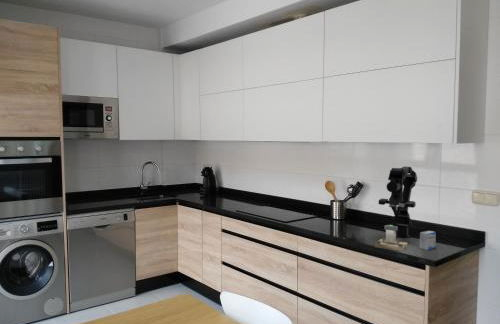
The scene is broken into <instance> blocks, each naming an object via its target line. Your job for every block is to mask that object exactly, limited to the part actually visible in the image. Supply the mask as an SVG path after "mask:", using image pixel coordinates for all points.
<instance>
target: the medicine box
mask: <svg viewBox="0 0 500 324" xmlns="http://www.w3.org/2000/svg"><path fill="white" fill-rule="evenodd" d="M436 233H437V232H436V231H433V230H427V231H426V230H425V231H421V232H419V249H422V250H425V251H430V250H433V249H436V239H437V238H436V235H437V234H436Z"/></svg>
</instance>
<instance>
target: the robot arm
mask: <svg viewBox="0 0 500 324" xmlns="http://www.w3.org/2000/svg"><path fill="white" fill-rule="evenodd" d="M387 180H388V181H389V182H388V183H387V184H386V190H387V191H388V192H389V193H390V197H389V198H380V199H379V200H378V205H381V206H383V205H386V204H388V205H389V206H388V207H389V208H391V210H392V212H393V215H394V216H393V217H394V218H393V224H394V225H393V226H398V229H397V231H396V238H397V237H398V238H403V239H405V238H410V237H411V235H410V234H409V228H412V220H411V216H410V213H409V208H415V207H416V204H417V203H416V202H415V201H414V200H411V195H412V189H413V188H414V187H415V186H416V183H417V182H418V176H417V172H415V170H414V169H413V168H412V166H402V167H392V168H391V169H390V171H389V174H388V178H387Z"/></svg>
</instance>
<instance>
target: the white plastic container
mask: <svg viewBox="0 0 500 324" xmlns="http://www.w3.org/2000/svg"><path fill="white" fill-rule="evenodd" d="M397 229H398V226H394V225H393V224H386V225H384V230H385V241H387V242H397V239H396V238H397V236H396V235H397Z"/></svg>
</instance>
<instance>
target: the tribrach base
mask: <svg viewBox="0 0 500 324" xmlns="http://www.w3.org/2000/svg"><path fill="white" fill-rule="evenodd" d="M385 238H386V236H382V238H380V239H379V240H376V241H375V243H374V248H380V249H386V250H392V251H400V252H404V251H405V250H406V249H407V248H408V246H409V243H408V242H406V241H401V240H400V238H397V239H396V240H397V242H387V241H385Z"/></svg>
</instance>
